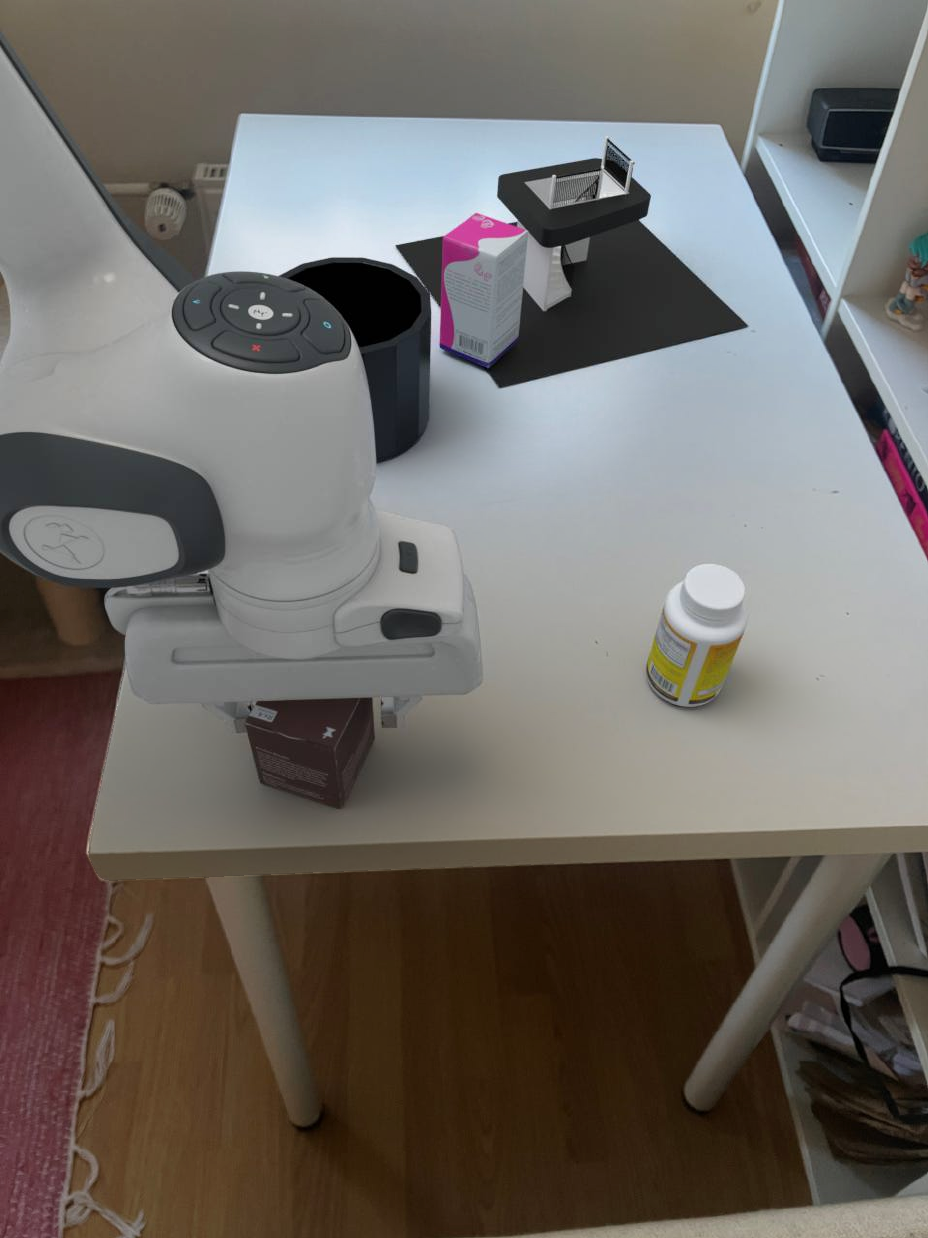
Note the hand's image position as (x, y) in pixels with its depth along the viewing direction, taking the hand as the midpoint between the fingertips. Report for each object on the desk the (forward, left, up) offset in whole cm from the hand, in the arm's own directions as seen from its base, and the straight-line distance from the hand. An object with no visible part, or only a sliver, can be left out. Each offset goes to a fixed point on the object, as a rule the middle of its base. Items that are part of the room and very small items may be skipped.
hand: (318, 721), depth 63 cm
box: (0, 0, -5) cm, 5 cm away
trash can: (+2, +36, -5) cm, 36 cm away
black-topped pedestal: (+24, +57, -5) cm, 62 cm away
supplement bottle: (+26, +6, -5) cm, 27 cm away
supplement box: (+14, +46, -4) cm, 48 cm away
